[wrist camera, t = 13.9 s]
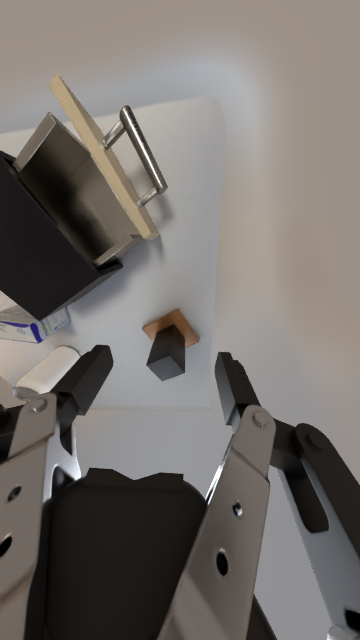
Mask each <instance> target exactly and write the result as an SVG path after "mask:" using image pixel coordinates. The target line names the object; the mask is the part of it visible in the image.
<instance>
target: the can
mask: <svg viewBox="0 0 360 640" xmlns="http://www.w3.org/2000/svg"><path fill="white" fill-rule="evenodd" d="M79 358H80V355H79V353H78V352H77V351H76V350H75V349H73V348H71V347H67V346H62V347H58V348H57V349H56V350H54V351H53V352H52V353H51V354H50V355H48V356H47V357H46V358H45V359H44V360H42V361H41V362H40V363H39V364H38V365H36V366H35V367H34V368H33V369H32V370H31V371H29V372H28V373H27V374H26V375H25V376H24V377H22V378H21V379H20V380H19V381H18V382H17V384H16V386H15V387H14V388H13V389H12V393H13V395H15V396H16V397H17V398H19V399H20V400H22V401H25V402H29V401H30V400H31V399H33V398H34V397H36V396H38V395H40V394H43V393H47V392H49V391H50V390H51V389H52V388H53V387H54V386H55V385H56V384H57V382H58V381H59V380H60V379H61V378H62V377H63V376H64V375H65V374H66V372H67V371H68V370H70V368H71V367H72V366H73V365H74V364H75V362H76V361H77V360H78V359H79Z"/></svg>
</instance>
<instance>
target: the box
mask: <svg viewBox="0 0 360 640" xmlns="http://www.w3.org/2000/svg"><path fill="white" fill-rule="evenodd" d="M69 321H70V320H69V317H68V314H67V310H66V307H65V308H63V309H61V310H59V311H58V312H56V313H54V314H52V315H50V316H49V317H47V318H45V319H43V320H42V321H40V322H39V321H38V320H37V319H35V318H34V317H33V316H32V315H30V314H29V313H28V312H27V311H26V310H24V309H23V308H22V307H21V306H19V305H16V306H13V307H11V308H8V309H5V310H3V311H1V312H0V339H7V340H15V341H23V342H31V343H40V342H42V341H43V340H45V339H46V338H47V337H49V336H50V335H52V334H53V333H54V332H56V331H57V330H58V329H60V328H61V327H63V326H64V325H65V324H67V323H68V322H69Z"/></svg>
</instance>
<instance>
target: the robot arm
mask: <svg viewBox="0 0 360 640" xmlns="http://www.w3.org/2000/svg"><path fill="white" fill-rule="evenodd" d="M112 367H113V358H112V354H111V350H110V347H109V346H108V345H96V346H95V347H94V348H93V349H92V350H91V351H90V352H87V353H85V354H84V355H82V356H81V357H80V358H79V359H78V360H77V361H76V362H75V364H74V365H73V366H72V367H71V368H70V370H68V371H67V372H66V374H65V375H64V376H63V377H62V378H61V379H60V380H59V381H58V382H57V384H56V385H55V386H54V387H53V388H52V389H51V390H50V391H49V392H47V393H43V394H40V395H38V396H36V397H34V398H33V399H31V400H30V401H29V402H27V403H26V404H25V405H21V406H16V407H12V408H8V409H5V408H4V407H3V406H2V405H1V404H0V640H277V638H276V636H275V634H274V632H273V630H272V628H271V626H270V624H269V623H268V620H267V618H266V616H265V615H264V613H263V611H262V609H261V607H260V605H259V603H258V601H257V599H256V597H255V595H254V587H255V581H256V575H257V569H258V562H259V556H260V549H261V544H262V537H263V531H264V525H265V519H266V513H267V507H268V500H269V494H270V482H269V480H268V470H269V465H271V466H274V467H276V468H277V470H278V473H279V476H280V478H281V481H282V484H283V487H284V490H285V492H286V495H287V498H288V501H289V503H290V506H291V509H292V512H293V515H294V518H295V521H296V524H297V526H298V529H299V532H300V535H301V537H302V540H303V543H304V546H305V549H306V552H307V555H308V557H309V560H310V563H311V566H312V569H313V572H314V574H315V577H316V580H317V583H318V586H319V588H320V591H321V594H322V597H323V600H324V602H325V605H326V608H327V611H328V614H329V617H330V620H331V622H332V626H331V628H330V629H329V631H328V635H327V640H360V485H359V484H358V482H357V481H356V479H355V478H354V476H353V475H352V473H351V472H350V470H349V469H348V467H347V466H346V464H345V463H344V461H343V460H342V458H341V457H340V455H339V454H338V452H337V451H336V449H335V448H334V446H333V445H332V443H331V442H330V440H329V439H328V438H327V437H326V436H325V435H324V434H323V433H322V432H321V431H319V430H318V429H317V428H315V427H313V426H311V425H309V424H304V423H300V424H298V425H297V426H296V427H294V426H291V425H289V424H286V423H284V422H281V421H278V420H276V419H274V418H273V417H272V416H271V415H270V414H269V413H268V411H266V410H265V409H264V408H262V407H261V405H260V403H259V401H258V399H257V396H256V394H255V392H254V390H253V387H252V385H251V383H250V381H249V379H248V376H247V375H246V372H245V370H244V367H243V366H242V365H241V364H240V363H239V362H238V360H233V358H232V356H231V354H230V353H229V352H219V353H218V356H217V360H216V364H215V377H216V381H217V386H218V391H219V395H220V400H221V405H222V409H223V414H224V419H225V423H226V425H232V429H233V434H232V437H231V439H230V442H229V444H228V446H227V449H226V451H225V454H224V456H223V459H222V461H221V464H220V466H219V468H218V471H217V473H216V475H215V478H214V480H213V482H212V485H211V487H210V489H209V492H208V494H207V497H206V499H204V497H203V496H202V495H201V494H200V492H199V491H198V490H197V489H196V488H195V487H193V486H192V485H191V484H189V483H188V482H186V481H184V480H183V474H174V473H157V474H154V475H150V476H148V477H144V478H141V479H138V480H132V479H130V478H128V477H126V476H124V475H122V474H120V473H119V472H117V471H115V470H113V469H99V468H89V470H88V473H87V475H86V476H83V477H81V474H80V468H79V464H78V462H77V457H76V441H75V423H74V419H75V418H76V416H77V415H84V416H85V414H86V413H87V411H88V409H89V407H90V406H91V404H92V402H93V401H94V399H95V397H96V395H97V394H98V392H99V390H100V388H101V387H102V385H103V383H104V381H105V380H106V378H107V376H108V374H109V373H110V371H111V369H112Z"/></svg>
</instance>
